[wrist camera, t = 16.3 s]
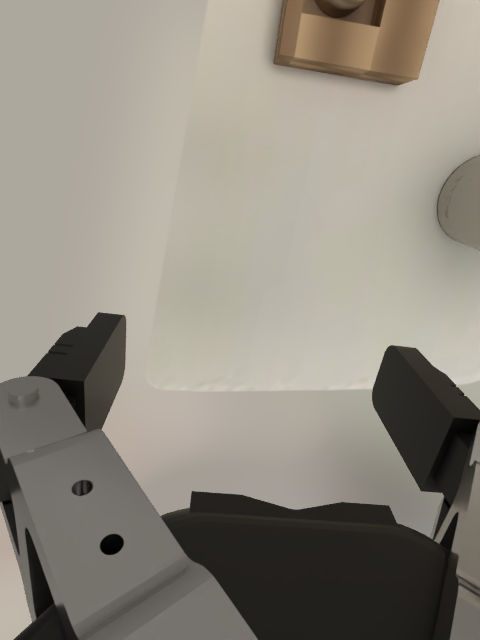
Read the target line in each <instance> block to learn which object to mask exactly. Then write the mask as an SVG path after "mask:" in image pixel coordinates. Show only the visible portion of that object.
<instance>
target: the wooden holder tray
mask: <svg viewBox="0 0 480 640" xmlns="http://www.w3.org/2000/svg"><path fill="white" fill-rule="evenodd" d="M439 1H440V0H367V1H366V2H364V3H363V4H362V5H361V6H360V7H359V8H358V9H356V10H355V11H354V12H353V13H352V14H350V15H348V16H346V17H343V18H333V17H330V16H328V15H327V14H325V13H324V12H323V11H322V10H321V9H320V8H319V6H318V4H317V2H316V0H283V5H282V11H281V18H280V25H279V32H278V39H277V45H276V52H275V59H274V64H277V65H283V66H289V67H294V68H300V69H306V70H312V71H318V72H324V73H329V74H335V75H341V76H347V77H353V78H358V79H364V80H370V81H376V82H382V83H388V84H393V85H400V84H403V83H406V82H409V81H412V80H415V79H418V76H419V73H420V69H421V65H422V62H423V58H424V55H425V51H426V47H427V44H428V40H429V37H430V33H431V29H432V26H433V22H434V19H435V15H436V11H437V8H438V4H439Z"/></svg>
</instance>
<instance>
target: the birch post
mask: <svg viewBox="0 0 480 640" xmlns="http://www.w3.org/2000/svg"><path fill="white" fill-rule="evenodd" d="M366 1H367V0H316V2H317V4H318V6H319V8H320V9H321V10H322V11H323V12H324V13H325V14H327V15H328V16H330V17H333V18H343V17H346V16H348V15H350V14H352V13H353V12H354V11H355V10H356V9H358V8H359V7H360V6H361V5H362V4H363V3H364V2H366Z"/></svg>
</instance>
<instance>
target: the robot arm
mask: <svg viewBox="0 0 480 640" xmlns="http://www.w3.org/2000/svg"><path fill="white" fill-rule="evenodd" d="M438 217H439V222H440V224H441V226H442V229H443V230H444V231H445V232H446V234H447V235H448V236H450V237H451V238H453V239H454V240H456V241H459V242H461V243H463V244H466V245H468V246H470V247H473V248H475V249H477V250H479V251H480V156H477V157H474V158H472V159H471V160H469V161H467V162H465V163H464V164H462V165H461V166H460V167H459V168H457V169H456V170H455V171H454V173H453V174H452V175H451V176H450V177H449V179H448V180H447V182H446V183H445V185H444V187H443V189H442V191H441V194H440V197H439V202H438ZM125 349H126V317H125V316H124V315H118V314H108V313H98V314H97V315H96V316H95V317H94V319H93V320H92V321H91V323H90V324H89V325H88V327H87V328H86V327H76V328H74V329H72V330H70V331H68V332H66V333H64V334H63V335H62V336H61V337H60V338H59V339H58V340H57V342H56V343H55V345H53V346H52V347H51V349H50V350H49V352H48V353H47V354H46V355H45V356H44V357H43V358H42V359H41V361H40V362H39V363H38V364H37V365H36V366H35V368H34V369H33V370H32V371H31V372H30V374H29V375H28V376H27V377H19V378H14V379H10V380H8V381H5V382H2V383H0V506H1V509H2V513H3V516H4V519H5V522H6V526H7V529H8V532H9V535H10V539H11V542H12V545H13V549H14V552H15V555H16V559H17V562H18V565H19V569H20V572H21V576H22V580H23V584H24V590H25V594H26V599H27V603H28V607H29V611H30V615H31V619H32V623H31V624H30V625H29V626H28V627H27V628H26V629H25V630H24V631H23V632H21V633H20V635H18V636H17V637H16V638H15V639H14V640H480V410H479V409H478V408H477V407H476V406H475V405H474V404H473V403H472V402H471V400H470V399H469V398H468V397H467V396H464V393H463V392H462V391H461V390H460V389H459V388H458V387H456V385H455V384H454V383H453V382H452V381H451V379H450V378H449V377H448V376H447V375H446V374H444V373H443V372H441V371H439V370H438V369H436V368H435V367H433V366H432V365H431V363H430V362H429V361H428V360H427V359H426V358H425V357H424V356H423V355H422V354H421V353H420V352H419V351H418V350H417V349H416V348H411V347H402V346H393V345H391V346H389V347H388V348H387V349H386V351H385V354H384V357H383V360H382V363H381V366H380V369H379V372H378V375H377V378H376V381H375V384H374V387H373V392H372V401H373V405H374V408H375V410H376V412H377V413H378V415H379V417H380V419H381V421H382V422H383V424H384V426H385V428H386V430H387V431H388V433H389V435H390V437H391V438H392V440H393V442H394V444H395V446H396V447H397V449H398V451H399V452H400V454H401V456H402V458H403V460H404V462H405V463H406V465H407V467H408V469H409V470H410V472H411V474H412V476H413V477H414V479H415V481H416V483H417V484H418V486H419V488H420V490H421V491H426V492H439V493H443V495H444V497H443V499H442V501H441V503H440V505H439V507H438V511H437V514H436V518H435V522H434V525H433V529H432V532H431V536H430V538H429V537H427V536H426V535H424V534H422V533H419V532H418V531H416V530H413V529H411V528H409V527H406V526H404V525H401V524H398V523H396V520H395V518H394V516H393V514H392V511H391V509H390V507H389V506H385V505H372V504H358V503H344V502H341V503H335V504H329V505H323V506H318V507H312V508H306V509H300V510H293V509H288V508H285V507H281V506H278V505H275V504H271V503H268V502H264V501H261V500H257V499H254V498H251V497H247V496H244V495H235V494H222V493H208V492H194V491H192V494H191V502H190V508H186V509H181V510H177V511H174V512H170V513H167V514H165V515H162V516H159V514H158V512H157V511H156V509H155V508H154V506H153V505H152V503H151V502H150V500H149V499H148V497H147V496H146V495H145V493H144V491H143V490H142V489H141V487H140V486H139V484H138V482H137V481H136V480H135V478H134V477H133V475H132V474H131V472H130V471H129V469H128V468H127V466H126V465H125V463H124V462H123V460H122V459H121V457H120V456H119V454H118V453H117V452H116V450H115V448H114V447H113V445H112V444H111V442H110V441H109V439H108V438H107V437H106V435H105V433H104V432H103V431H102V430H101V429H102V427H103V425H104V422H105V420H106V418H107V415H108V413H109V411H110V408H111V406H112V403H113V401H114V399H115V396H116V394H117V392H118V390H119V387H120V385H121V383H122V380H123V376H124V370H125Z"/></svg>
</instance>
